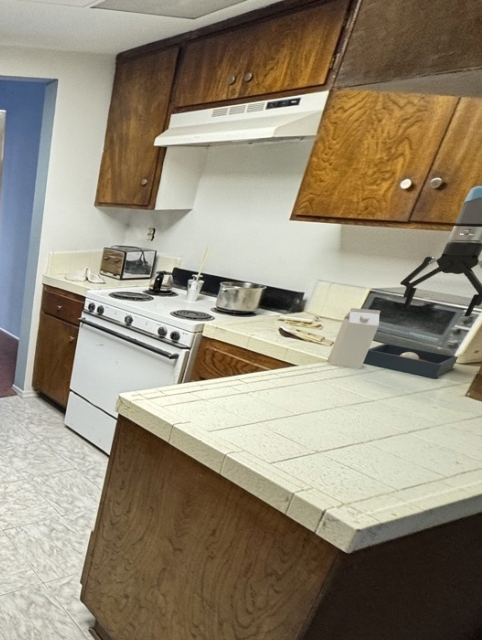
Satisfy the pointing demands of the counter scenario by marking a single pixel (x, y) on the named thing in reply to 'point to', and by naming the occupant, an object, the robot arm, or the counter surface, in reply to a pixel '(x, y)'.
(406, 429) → the counter surface
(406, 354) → the rice plate
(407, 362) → the dish tub
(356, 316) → the milk carton
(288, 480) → the counter surface
